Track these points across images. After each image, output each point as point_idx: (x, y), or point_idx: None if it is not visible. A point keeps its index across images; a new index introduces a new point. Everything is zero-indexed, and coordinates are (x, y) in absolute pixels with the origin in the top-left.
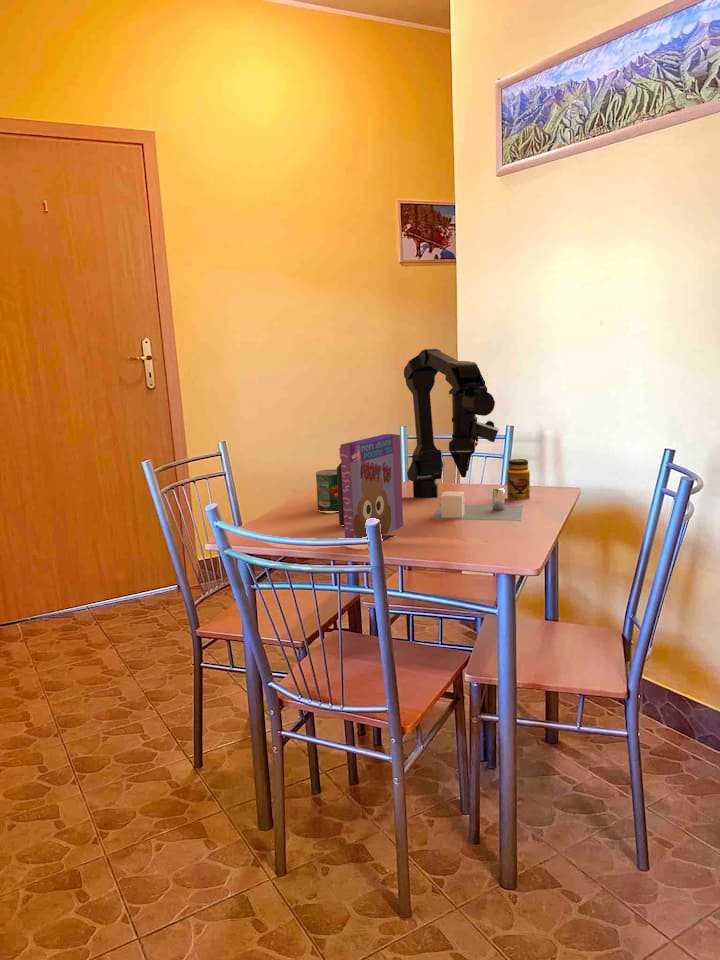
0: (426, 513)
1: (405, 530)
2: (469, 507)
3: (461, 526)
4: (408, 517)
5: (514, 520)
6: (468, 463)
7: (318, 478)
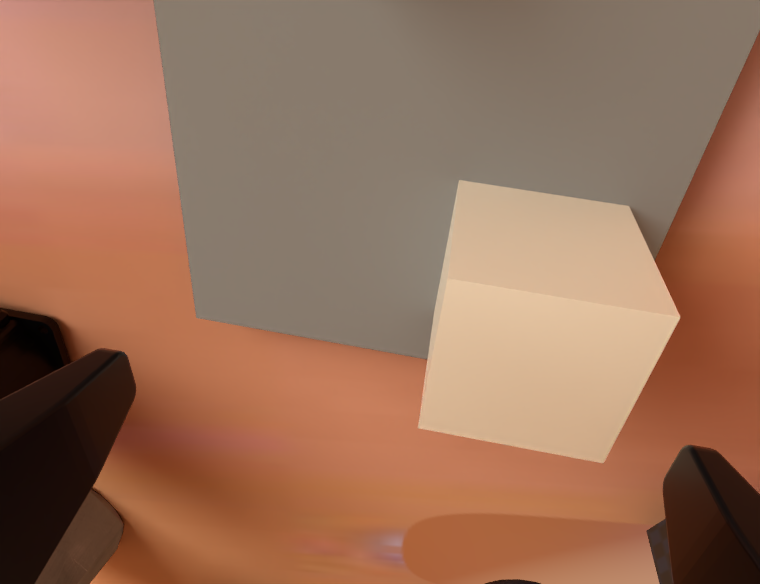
0: (311, 366)
1: None
2: (268, 130)
3: (699, 194)
4: (403, 443)
5: None
6: (46, 434)
7: None
